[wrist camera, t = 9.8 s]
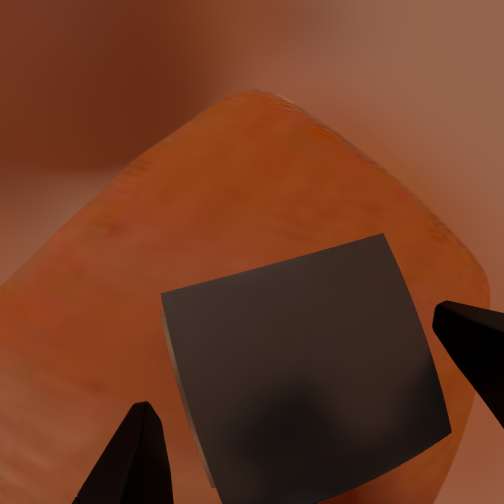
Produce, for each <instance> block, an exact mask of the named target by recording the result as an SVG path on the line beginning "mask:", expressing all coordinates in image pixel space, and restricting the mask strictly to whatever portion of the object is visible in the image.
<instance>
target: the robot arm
mask: <svg viewBox="0 0 504 504" xmlns="http://www.w3.org/2000/svg"><path fill="white" fill-rule="evenodd" d="M432 328H433V331H434V333H435V334H436V335H437V337H438V338H439V340H440V341H441V343H442V344H443V346H444V347H445V349H446V350H447V352H448V354H449V355H450V357H451V358H452V360H453V361H454V363H455V364H456V365H457V367H458V368H459V369H460V371H461V372H462V373H463V374H464V376H465V377H466V378H467V379H468V381H469V382H470V383H471V385H472V386H473V387H474V389H475V390H476V391H477V393H478V394H479V395H480V396H481V398H482V399H483V401H484V402H485V403H486V404H487V406H488V407H489V409H490V410H491V411H492V413H493V414H494V416H495V417H496V418H497V420H498V421H499V423H500V424H501V426H502V427H503V428H504V313H501V312H496V311H492V310H487V309H483V308H479V307H474V306H470V305H465V304H461V303H456V302H452V301H443V302H441V303H439V304H437V305H436V307H435V312H434V317H433V323H432ZM77 496H78V497H75V499H74V501H73V502H72V504H174V502H173V492H172V481H171V471H170V465H169V460H168V455H167V450H166V445H165V439H164V433H163V427H162V423H161V420H160V418H159V417H158V415H157V414H156V412H155V411H154V409H153V407H152V406H151V404H150V403H149V402H147V401H145V402H139V403H135V404H133V405H132V407H131V408H130V410H129V412H128V413H127V415H126V416H125V418H124V420H123V421H122V423H121V424H120V426H119V427H118V429H117V431H116V432H115V434H114V435H113V437H112V439H111V440H110V442H109V444H108V445H107V447H106V448H105V450H104V452H103V453H102V455H101V456H100V458H99V460H98V461H97V463H96V465H95V466H94V468H93V469H92V471H91V473H90V474H89V476H88V478H87V479H86V481H85V483H84V484H83V486H82V487H81V489H80V491H79V492H78V494H77Z"/></svg>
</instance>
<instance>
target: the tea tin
mask: <svg viewBox="0 0 504 504" xmlns="http://www.w3.org/2000/svg"><path fill="white" fill-rule="evenodd" d="M161 298H162V303H163V308H164V313H165V317H166V322H167V327H168V331H169V335H170V340H171V344H172V348H173V352H174V356H175V360H176V364H177V368H178V372H179V375H180V379H181V383H182V386H183V390H184V393H185V397H186V400H187V404H188V407H189V411H190V414H191V417H192V420H193V423H194V427H195V430H196V433H197V436H198V439H199V442H200V445H201V448H202V451H203V454H204V457H205V459H206V462H207V465H208V468H209V470H210V473H211V476H212V478H213V481H214V484H215V486H216V489H217V491H218V494H219V496H220V499H221V501H222V504H315V503H318V502H320V501H323V500H326V499H328V498H331V497H334V496H336V495H339V494H341V493H344V492H346V491H348V490H351V489H353V488H355V487H358V486H360V485H362V484H364V483H366V482H368V481H370V480H373V479H375V478H377V477H379V476H381V475H383V474H385V473H386V472H388V471H390V470H392V469H394V468H396V467H398V466H399V465H401V464H403V463H405V462H407V461H408V460H410V459H412V458H413V457H415V456H417V455H418V454H420V453H422V452H423V451H425V450H426V449H428V448H429V447H431V446H433V445H434V444H436V443H437V442H439V441H440V440H442V439H443V438H444V437H446V436H447V435H449V434H450V433H452V431H451V426H450V422H449V417H448V413H447V409H446V405H445V401H444V397H443V393H442V389H441V385H440V382H439V378H438V375H437V371H436V368H435V365H434V361H433V358H432V355H431V352H430V349H429V346H428V343H427V340H426V337H425V334H424V331H423V328H422V325H421V322H420V320H419V317H418V314H417V311H416V309H415V306H414V304H413V301H412V298H411V296H410V293H409V291H408V288H407V286H406V283H405V281H404V279H403V276H402V274H401V271H400V269H399V267H398V265H397V262H396V260H395V258H394V256H393V253H392V251H391V249H390V247H389V245H388V242H387V240H386V238H385V236H384V234H383V233H382V234H378V235H375V236H371V237H368V238H364V239H361V240H357V241H354V242H350V243H347V244H343V245H340V246H336V247H332V248H329V249H325V250H322V251H318V252H315V253H311V254H307V255H304V256H300V257H297V258H293V259H289V260H286V261H282V262H278V263H275V264H271V265H267V266H264V267H260V268H256V269H252V270H249V271H245V272H241V273H237V274H234V275H230V276H226V277H222V278H219V279H215V280H211V281H207V282H203V283H200V284H196V285H192V286H188V287H184V288H180V289H176V290H172V291H169V292H165V293H161Z"/></svg>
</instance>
